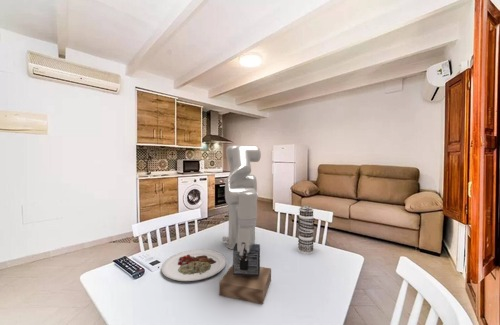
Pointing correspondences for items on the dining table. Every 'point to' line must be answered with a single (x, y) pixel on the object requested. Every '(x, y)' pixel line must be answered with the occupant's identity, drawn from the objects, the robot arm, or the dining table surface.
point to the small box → (252, 261)
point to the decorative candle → (306, 230)
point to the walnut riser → (246, 285)
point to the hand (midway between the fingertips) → (246, 264)
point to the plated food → (193, 265)
